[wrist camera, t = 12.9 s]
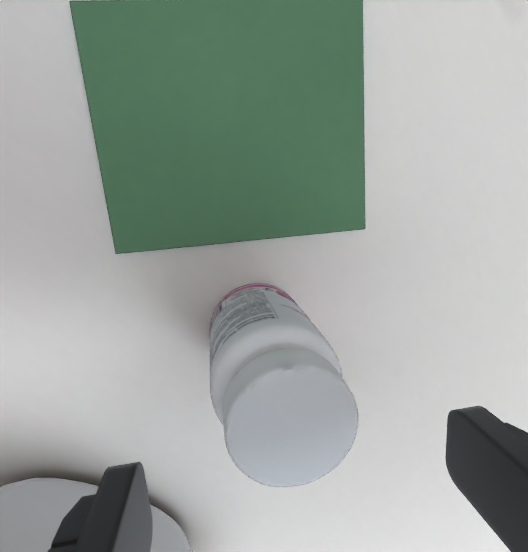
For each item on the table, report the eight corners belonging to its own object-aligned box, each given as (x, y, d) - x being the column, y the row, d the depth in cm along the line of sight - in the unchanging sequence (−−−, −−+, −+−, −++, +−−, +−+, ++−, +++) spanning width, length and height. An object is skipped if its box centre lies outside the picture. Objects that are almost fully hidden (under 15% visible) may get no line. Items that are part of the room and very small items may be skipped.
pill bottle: (316, 336, 19) (398, 444, 11) (241, 383, 19) (266, 528, 11) (271, 263, 18) (326, 322, 9) (191, 313, 17) (175, 417, 9)
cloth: (359, 1, 15) (363, -4, 15) (362, 228, 18) (365, 229, 17) (72, 5, 14) (68, 0, 14) (117, 252, 16) (115, 254, 16)
